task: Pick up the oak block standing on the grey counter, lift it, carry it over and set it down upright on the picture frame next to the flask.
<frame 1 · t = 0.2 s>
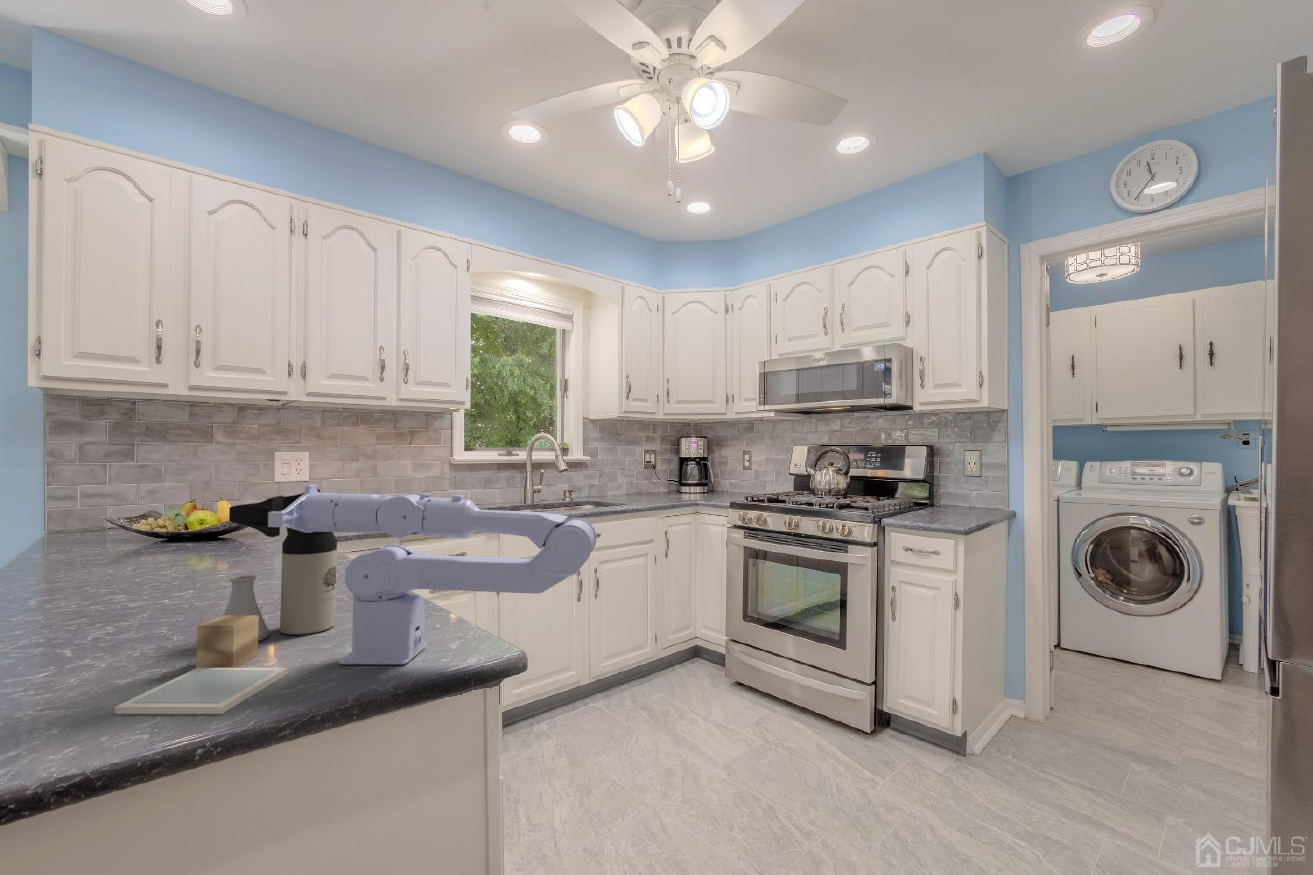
hand: (249, 509, 85), 21 cm above the countertop, tool horizontal, fingers open, 7 cm apart
oak block: (227, 663, 81), on the countertop
travel mug: (307, 629, 97), on the countertop
flask: (241, 641, 91), on the countertop
picture frame: (208, 692, 71), on the countertop
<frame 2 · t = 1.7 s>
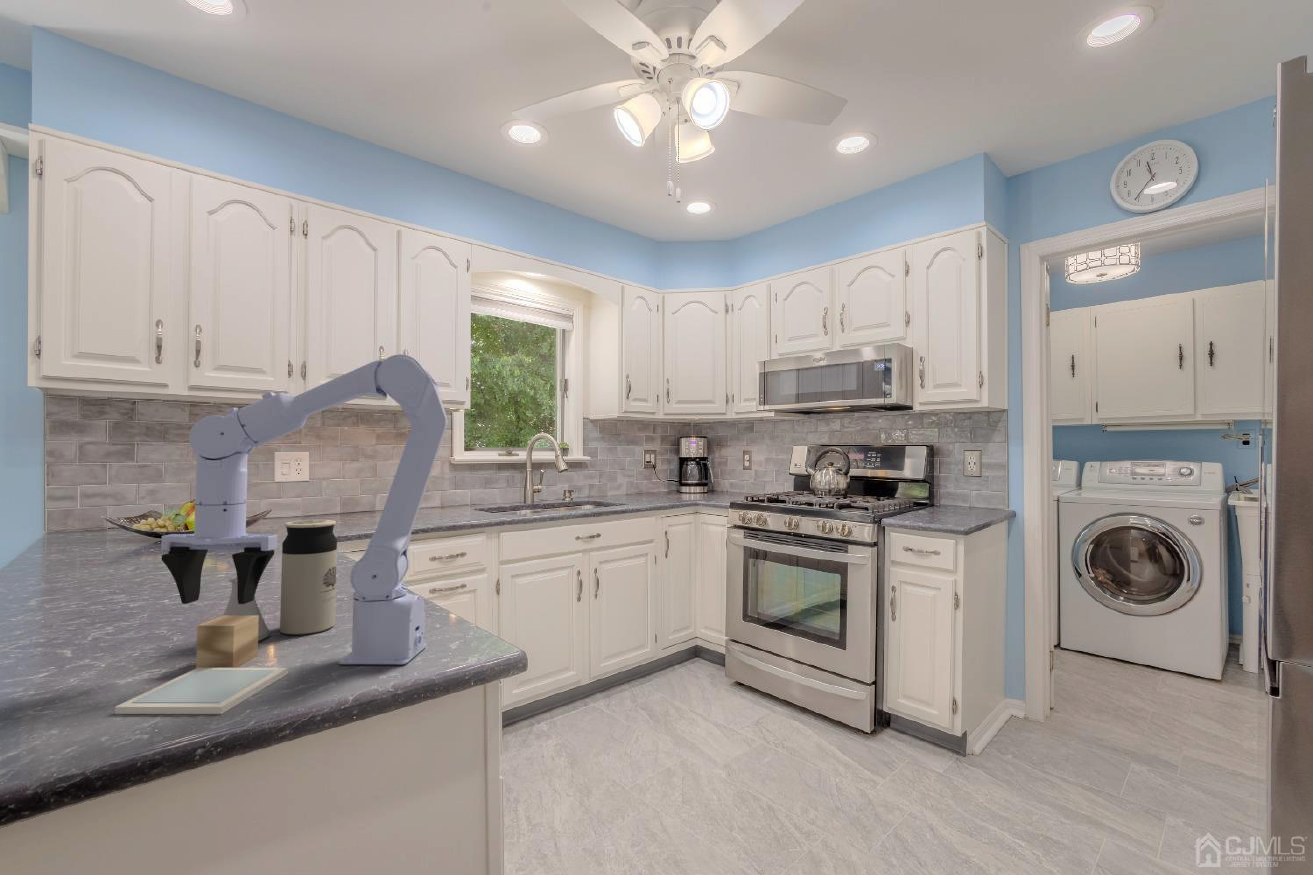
hand: (218, 602, 79), 9 cm above the countertop, tool pointing down, fingers open, 7 cm apart
nothing on the countertop moved.
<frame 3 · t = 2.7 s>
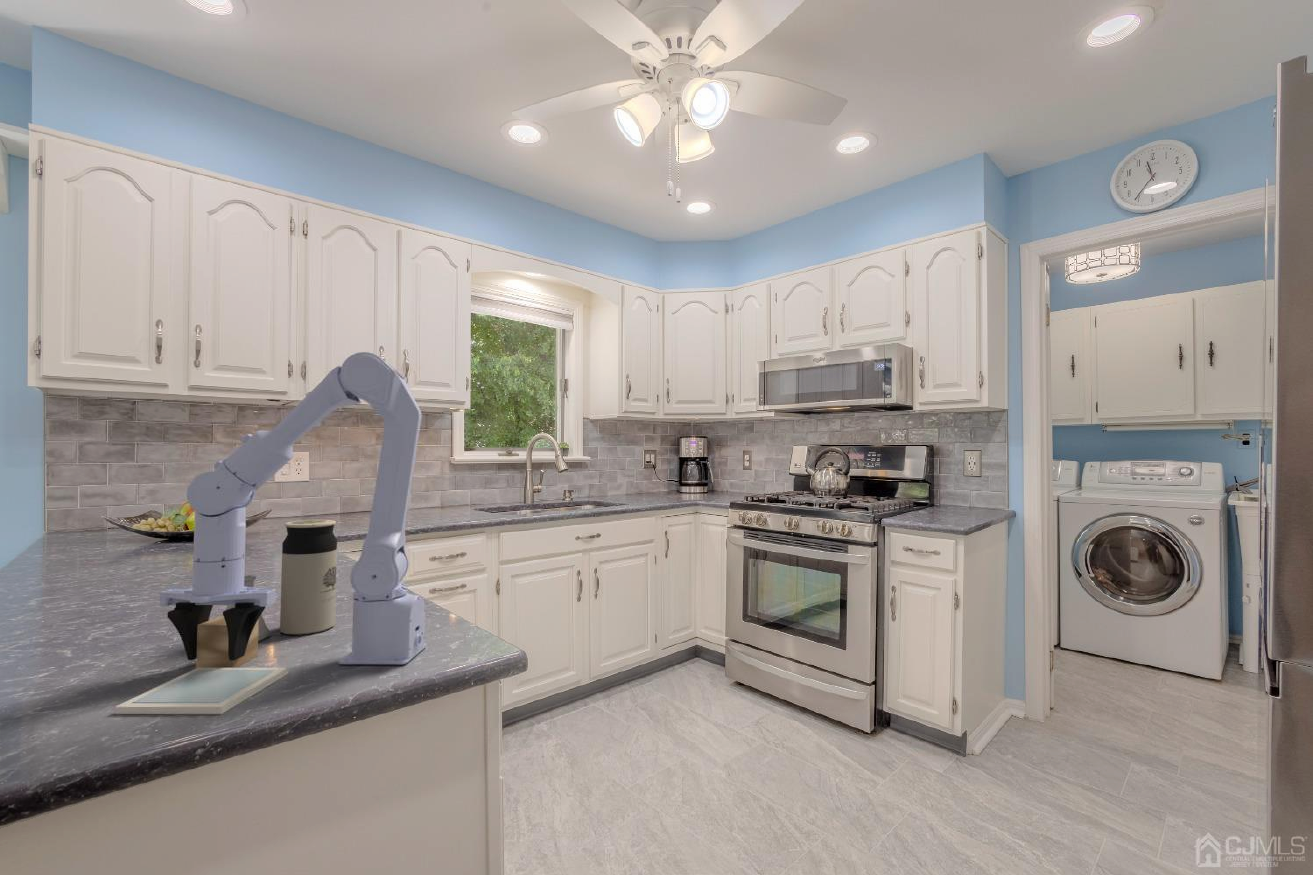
hand: (216, 657, 79), 1 cm above the countertop, tool pointing down, fingers closed on oak block, 5 cm apart
oak block: (227, 662, 81), on the countertop, touching gripper
everything else where it was.
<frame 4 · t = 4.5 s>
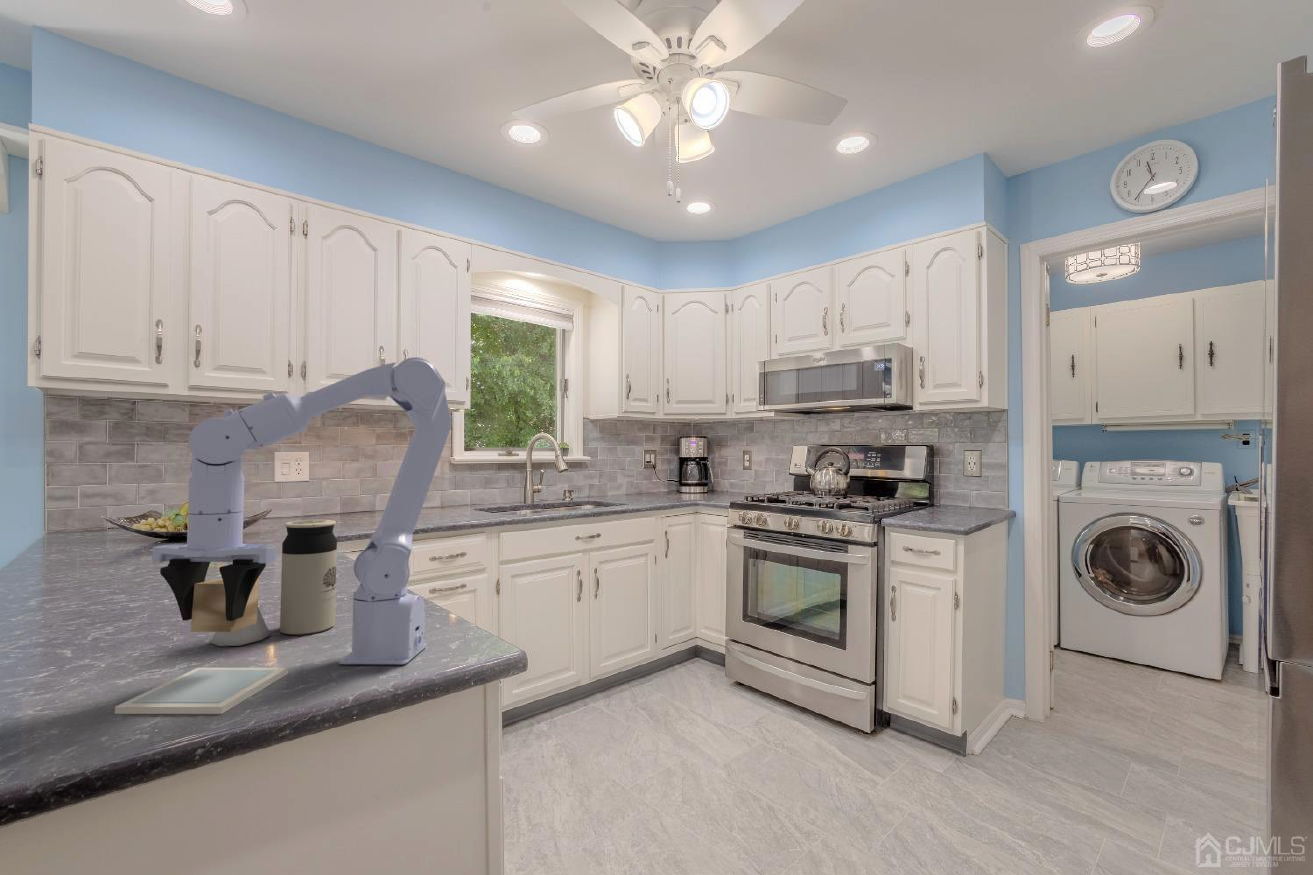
hand: (213, 618, 74), 8 cm above the countertop, tool pointing down, fingers closed on oak block, 5 cm apart
oak block: (224, 627, 76), point 7 cm above the countertop, touching gripper
everything else where it was.
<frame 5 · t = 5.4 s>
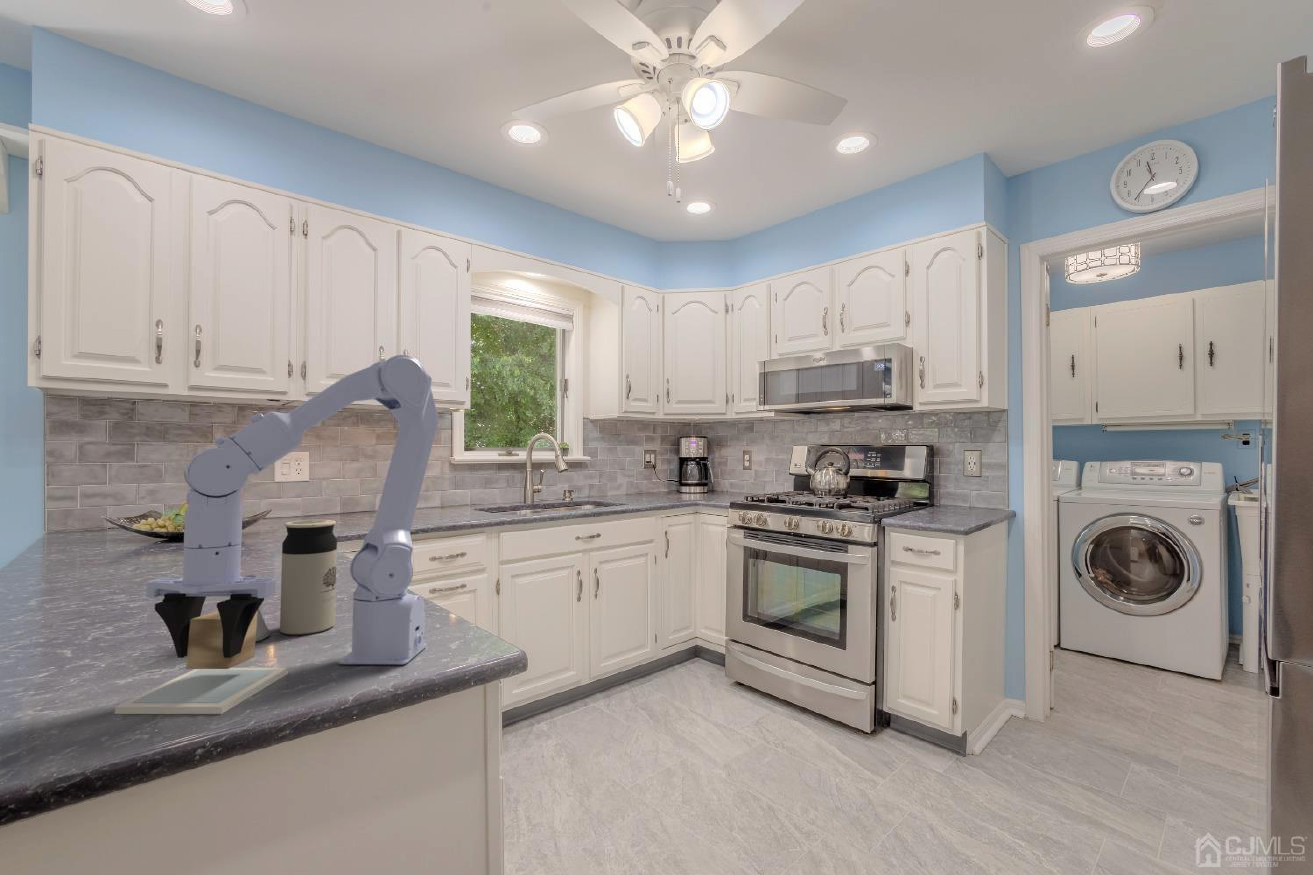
hand: (209, 655, 71), 5 cm above the countertop, tool pointing down, fingers closed on oak block, 5 cm apart
oak block: (221, 663, 73), point 3 cm above the countertop, touching gripper
everything else where it was.
when the fingers open (4 cm above the countertop, at t = 6.1 s): oak block stays where it is, resting on picture frame.
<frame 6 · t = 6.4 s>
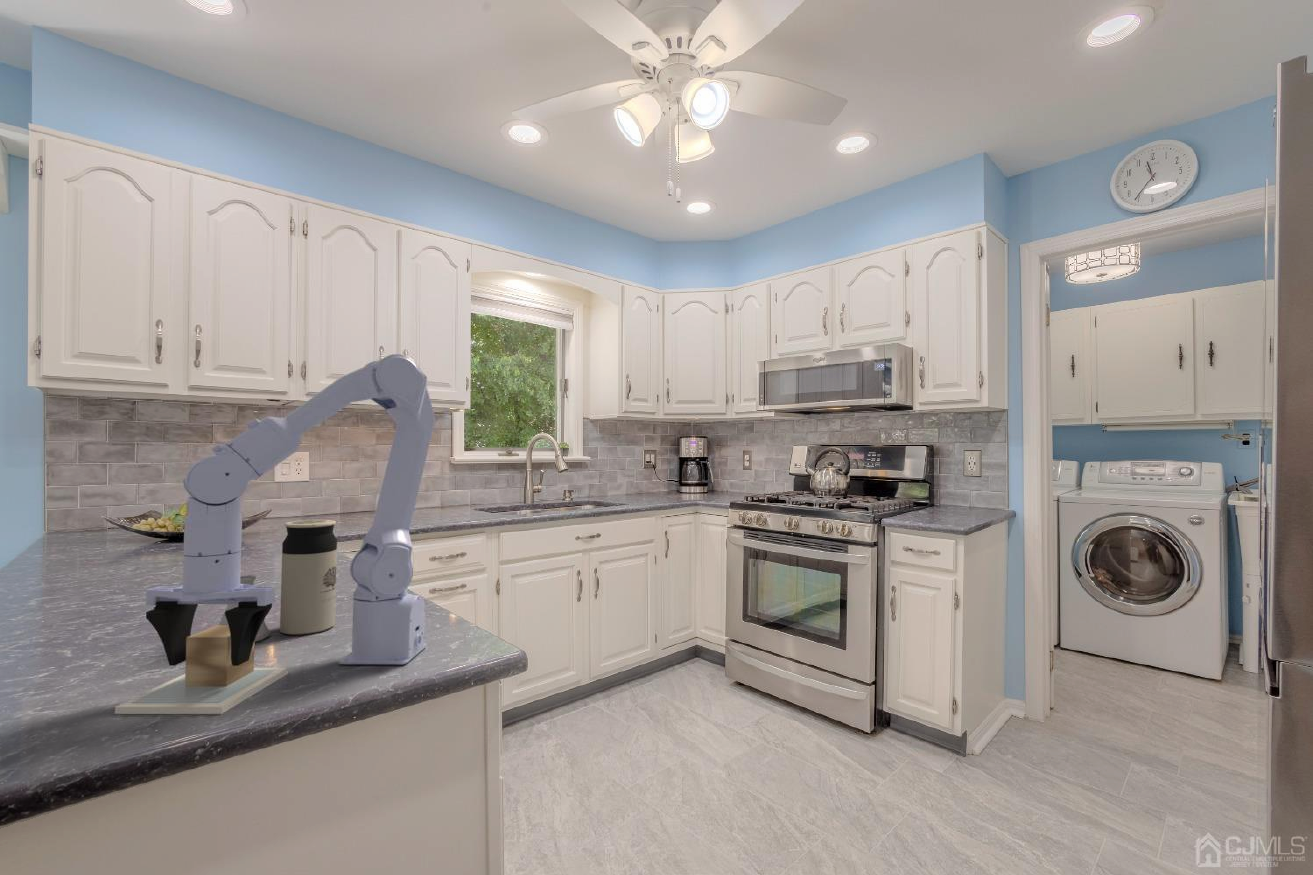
hand: (209, 662, 71), 4 cm above the countertop, tool pointing down, fingers open, 7 cm apart
oak block: (220, 678, 73), point 1 cm above the countertop, touching picture frame
everything else where it was.
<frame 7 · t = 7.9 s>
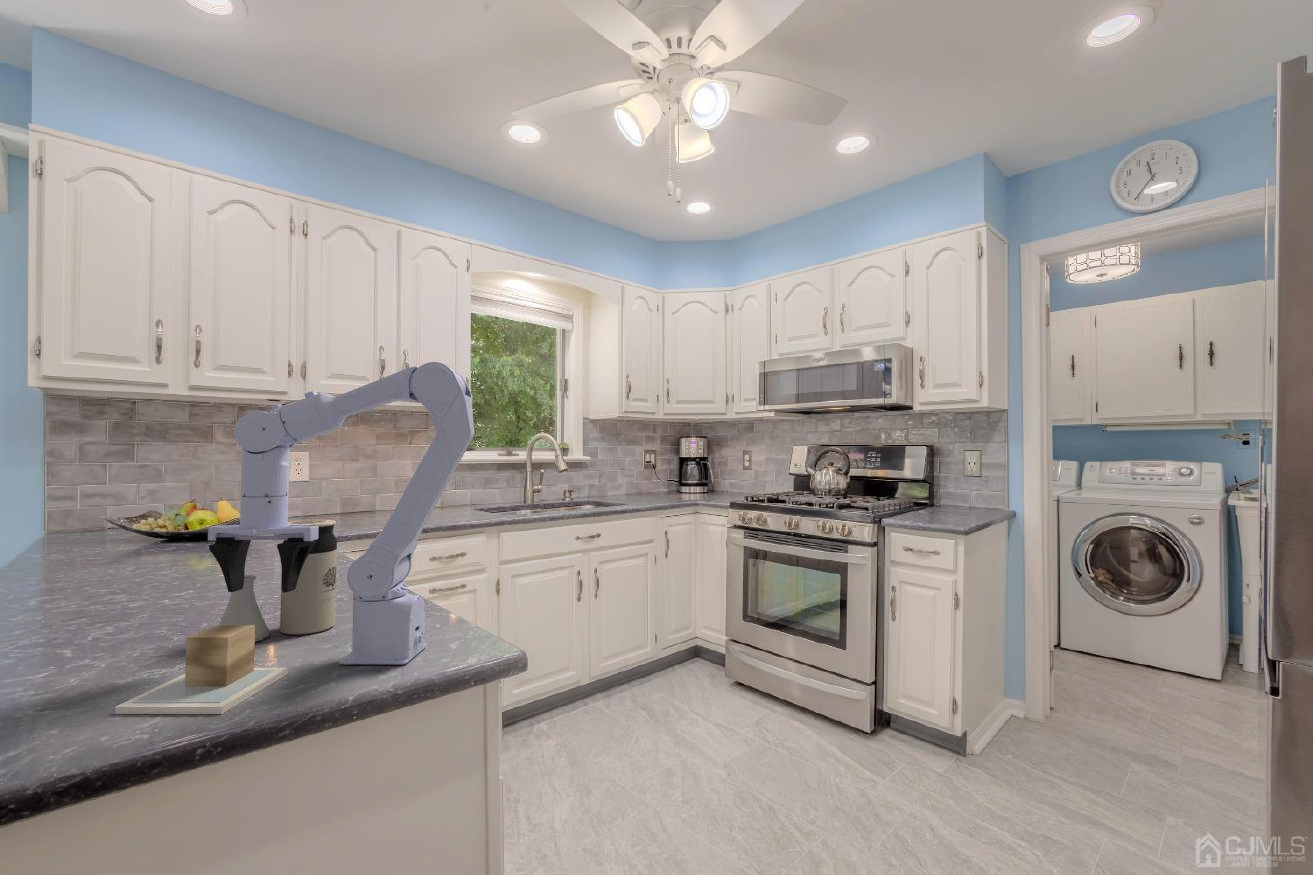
hand: (262, 590, 82), 10 cm above the countertop, tool pointing down, fingers open, 7 cm apart
nothing on the countertop moved.
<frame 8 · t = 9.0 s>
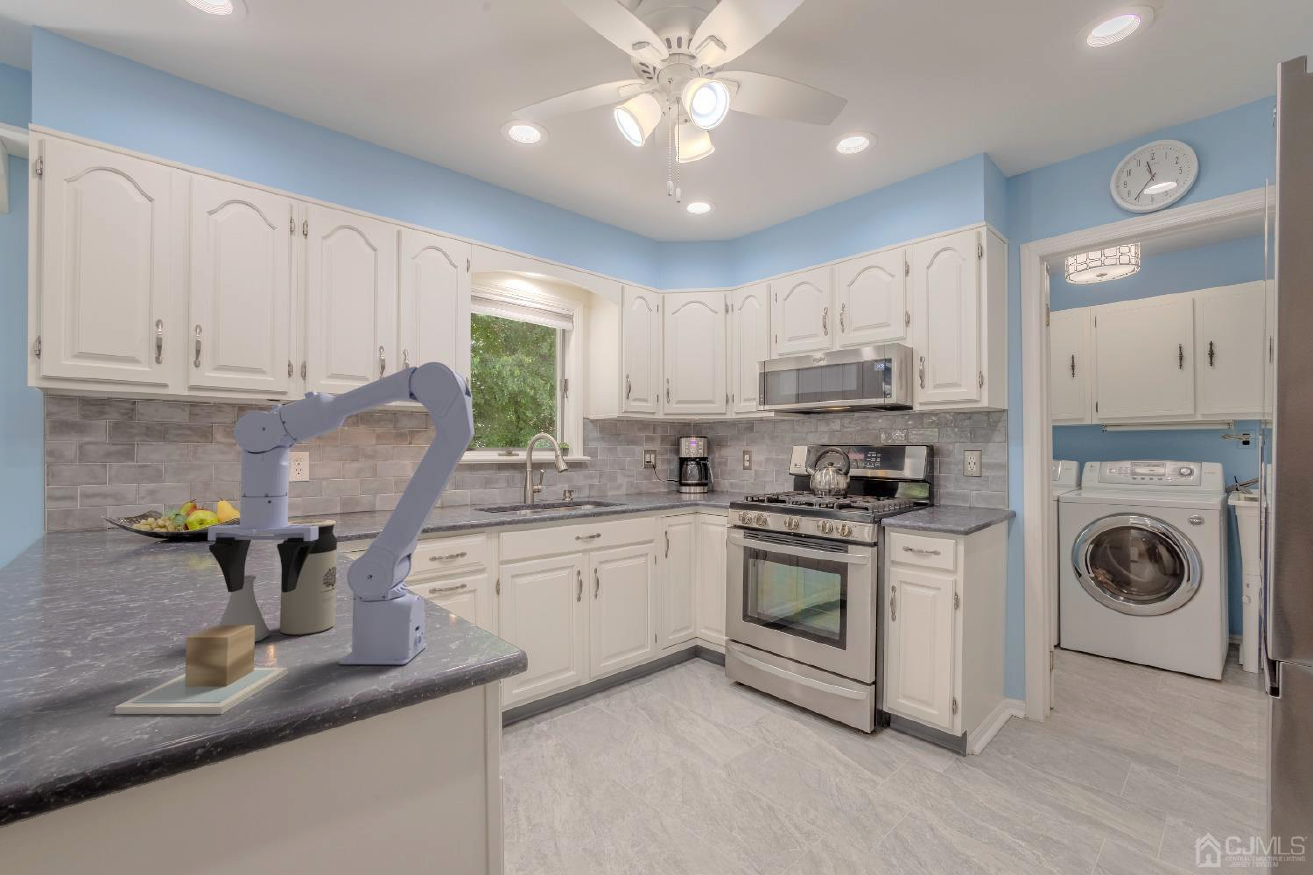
hand: (262, 590, 82), 10 cm above the countertop, tool pointing down, fingers open, 7 cm apart
nothing on the countertop moved.
at the end: oak block inside the target area on the picture frame (2.0 cm from its centre), point 0.9 cm above the picture frame's base; oak block tilted 0°; the gripper is holding nothing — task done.
